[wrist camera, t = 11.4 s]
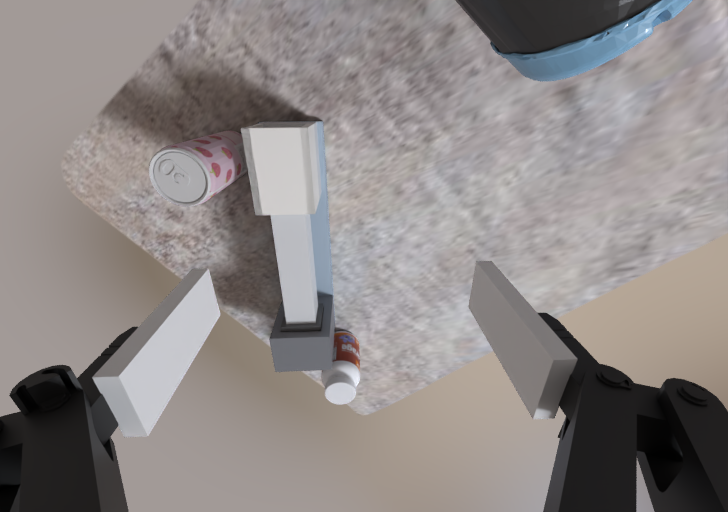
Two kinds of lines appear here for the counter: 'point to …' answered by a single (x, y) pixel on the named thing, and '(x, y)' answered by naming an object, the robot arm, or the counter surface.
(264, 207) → the sleeve
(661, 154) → the counter surface
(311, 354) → the socket
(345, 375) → the pill bottle
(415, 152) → the counter surface
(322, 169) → the mounting board
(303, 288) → the tube
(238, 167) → the beverage can
